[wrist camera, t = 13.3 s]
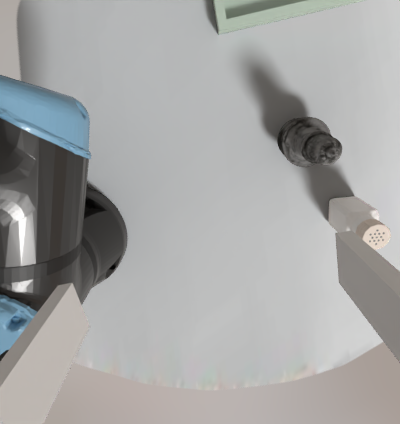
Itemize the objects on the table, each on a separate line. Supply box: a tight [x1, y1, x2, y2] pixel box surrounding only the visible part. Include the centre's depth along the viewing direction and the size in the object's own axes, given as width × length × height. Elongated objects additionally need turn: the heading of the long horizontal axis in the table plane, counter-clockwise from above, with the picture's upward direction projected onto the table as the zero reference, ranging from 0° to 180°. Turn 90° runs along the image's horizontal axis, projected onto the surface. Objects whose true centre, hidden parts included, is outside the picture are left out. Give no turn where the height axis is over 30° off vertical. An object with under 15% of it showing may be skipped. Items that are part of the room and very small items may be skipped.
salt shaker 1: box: [278, 117, 342, 167], centre depth 36 cm, size 6×6×12 cm
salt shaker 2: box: [328, 196, 391, 250], centre depth 40 cm, size 4×4×10 cm
